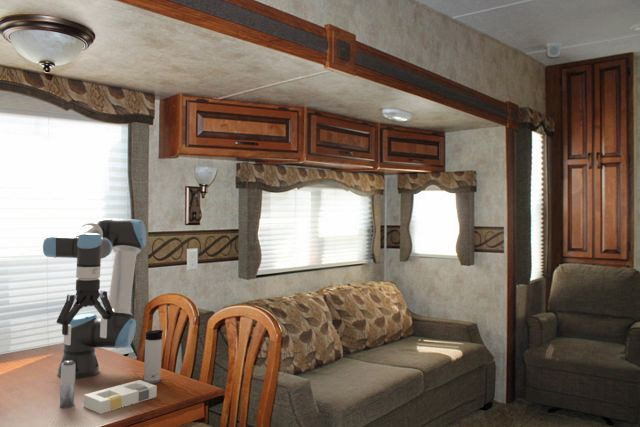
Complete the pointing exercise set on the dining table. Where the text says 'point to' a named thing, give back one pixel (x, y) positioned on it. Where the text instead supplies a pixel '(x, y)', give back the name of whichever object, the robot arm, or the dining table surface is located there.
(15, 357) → the dining table surface
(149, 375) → the travel mug
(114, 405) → the socket board
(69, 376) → the plug
